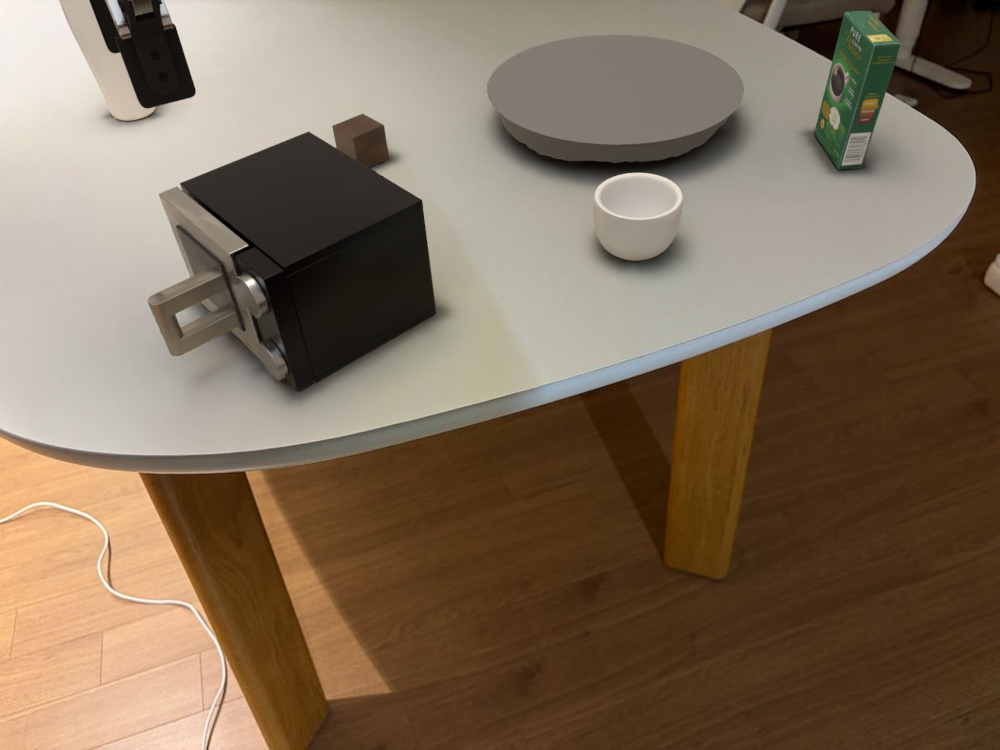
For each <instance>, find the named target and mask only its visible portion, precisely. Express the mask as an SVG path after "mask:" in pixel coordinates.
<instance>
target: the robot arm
mask: <svg viewBox="0 0 1000 750" xmlns="http://www.w3.org/2000/svg"><path fill="white" fill-rule="evenodd" d="M89 1H90V4H91V7H92V9H93V12H94V14H95V17H96V20H97V22H98V25H99V28H100V30H101V33H102V35H103V38H104V41H105V43H106V46H107V48H108V50H109V51H110V52H112V53H121V56H122V59H123V61H124V64H125V67H126V70H127V72H128V75H129V78H130V80H131V83H132V86H133V88H134V91H135V94H136V97H137V99H138V101H139V103H140V105H141V106H142V107H143V108H152V107H156V108H157V107H160V106H164V105H168V104H172V103H175V102H180V101H183V100H186V99H191V98H193V97H194V96H195V95H196V92H197V90H196V87H195V83H194V80H193V76H192V74H191V70H190V67H189V64H188V61H187V58H186V54H185V52H184V48H183V45H182V42H181V39H180V36H179V32H178V30H177V29H178V28H177V26H176V25H175V23H174V22H173V21H172V20H173V19H171V15H170V12H169V10H168V8H167V5H166V3H165V0H89Z"/></svg>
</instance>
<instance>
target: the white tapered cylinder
mask: <svg viewBox="0 0 1000 750" xmlns="http://www.w3.org/2000/svg"><path fill="white" fill-rule="evenodd" d="M58 1H59V5H60V7H61V10H62V13H63V15H64V17H65V20H66V22H67V25H68V26H69V29H70V31H71V33H72V35H73V37H74V39H75V41H76V44H77V45H78V47H79V49H80V52H81V54H82V56H83V57H84V59H85V61H86V64H87V66H88V67H89V69H90V71H91V73H92V75H93V77H94V79H95V82H96V83H97V85H98V88H99V90H100V92H101V94H102V96H103V98H104V101H105V103H106V105H107V107H108V111H109V112H110V114H111V116H112V117H113V118H115V119H116V120H119V121H125V122H126V121H127V122H128V121H130V122H131V121H137V120H140V119H144V118H146V117H148V116H150V115H151V114H153V113H154V112H155V110H156V108H157V106H156V107H152V108H143V107H142V106H141V105H140V103H139V101H138V99H137V97H136V94H135V91H134V88H133V86H132V83H131V80H130V78H129V75H128V72H127V70H126V67H125V64H124V61H123V59H122V56H121V53H112V52H110V51H109V50H108V48H107V46H106V43H105V41H104V38H103V35H102V33H101V30H100V28H99V25H98V22H97V20H96V17H95V14H94V12H93V9H92V7H91V4H90V1H89V0H58Z"/></svg>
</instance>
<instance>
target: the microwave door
mask: <svg viewBox="0 0 1000 750" xmlns="http://www.w3.org/2000/svg"><path fill="white" fill-rule="evenodd" d="M158 196H159V199H160V202H161V205H162V207H163V210H164V213H165V215H166V217H167V221H168V223H169V225H170V228H171V230H172V233H173V235H174V239H175V242H176V244H177V246H178V249H179V251H180V255H181V257H182V260H183V262H184V265H185V268H186V270H187V272H188V275H189V277H187V278H185V280H182V281H180V282H177V283H175V284H173V285H170V286H169V287H166V288H164V289H162V290H161V291H160V290H159V291H158V292H156V293H154V294H152V295H150V296H149V297H148V298H147V304H148V306H149V309H150V311H151V313H152V316H153V318H154V320H155V323H156V325H157V327H158V329H159V331H160V333H161V336H162V338H163V341H164V342H165V345H166V347H167V350H168V352H169V353H170V356H172V357H181V356H184V355H185V354H188V353H189V352H192V351H193V350H195V349H197V348H199V347H200V346H203V345H205V344H206V343H209V342H211V341H212V340H215V339H216V338H219V337H220V336H222V335H224V334H226V333H228V332H231V333H232V334H233V335H234V336H235V337H236V338H237V339H238V340H239V341H241V343H242V344H244V346H245V347H246V348H248V349H249V350H250V351H251V352H252V353H253V354H254V355H255V356H256V357H257V358H258V359H259V360H260V361H261V362H262V360H261V358H260V356H259V353H258V350H257V345H258V343H260V342H262V341H263V338H262V335H261V332H260V329H259V326H258V323H257V319H256V317H255V316H254V315H252V314H251V312H250V311H249V310H248V309H247V307H246V306H245V304H244V303H243V301H242V299H241V297H240V295H239V293H238V291H237V288H236V284H235V278H236V277H238V276H240V275H242V274H241V271H240V267H239V264H238V261H237V258H236V255H238V254H241V253H243V252H245V251H247V250H249V249H250V247H249V245H248V244H247V243H246V242H245V241H243V240H242V239H241V238H240V237H238V236H237V235H236V234H235V233H234V232H232V231H231V230H230V229H229V228H227V227H226V226H225V225H224V224H223V223H221V222H220V221H219V220H218V219H216V218H215V217H214V216H213V215H211V214H210V213H209V212H208V211H207V210H205V209H204V208H203V207H202V206H200V205H199V204H198V203H197V202H196V201H194V200H193V199H192V198H191V197H189V196H188V195H187V194H186V193H184V192H183V191H182V188H181V187H180V188H179V186H175V187H172V188H170V189H167V190H163V191H162V192H159V193H158ZM199 303H201V304H202V305H203V306H204V307H205V308H206V309H207V310H208V311H209V312H208V313H207V314H204V315H202V316H200V317H199V318H196V319H194V320H192V321H191V322H189V323H186V324H184V325H182V326H181V325H180V323H179V321H178V319H177V316H176V315H177V314H179V313H180V312H181V313H182V312H183V311H185V310H187V309H188V308H191V307H194V306H195V305H197V304H199Z"/></svg>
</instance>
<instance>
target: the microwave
mask: <svg viewBox="0 0 1000 750" xmlns="http://www.w3.org/2000/svg"><path fill="white" fill-rule="evenodd" d="M179 185H180V189H181V190H182V191H183V192H184V193H186V194H187V195H188V196H189V197H191V198H192V199H193V200H194V201H196V202H197V203H198V204H199V205H200V206H202V207H203V208H204V209H205V210H207V211H208V212H209V213H210V214H211V215H213V216H214V217H215V218H216V219H218V220H219V221H220V222H221V223H223V224H224V225H225V226H226V227H227V228H229V229H230V230H231V231H232V232H234V233H235V234H236V235H237V236H238V237H240V238H241V239H242V240H243V241H245V242H246V243H247V244H248V245H249V247H250V249H249V250H247V251H245V252H243V253H241V254H238V255H236V258H237V261H238V264H239V267H240V271H241V274H242V275H240V276H238V277H236V278H235V284H236V288H237V291H238V293H239V295H240V297H241V299H242V301H243V303H244V304H245V306H246V307H247V309H248V310H249V311H250V312H251V314H252V315H254V316H255V317H256V319H257V323H258V326H259V329H260V332H261V335H262V338H263V341H262V342H260V343H258V345H257V350H258V353H259V356H260V358H261V360H262V361H261V360H260V361H261V362H262V364H263V366H264V367H265V369H266V370H267V372H268V373H269V374H270V375H271V376H272V377H273V378H274V379H275V380H277V381H282V380H283V379H285V380H286V381H287V382H288V383H289V385H291V386H292V387H293V388H294V389H295V390H296V391H300V390H302V389H304V388H306V387H307V386H309V385H311V384H313V383H318V382H320V381H321V380H323V379H325V378H327V377H328V376H330V375H332V374H333V373H335V372H337V371H338V370H341V369H342V368H344V367H345V366H346V367H347V366H348V365H349V364H351V363H352V362H355V361H356V360H358V359H360V358H361V357H363V356H365V355H367V354H369V353H370V352H372V351H374V350H376V349H377V348H379V347H381V346H383V345H384V344H386V343H388V342H389V341H391V340H393V339H395V338H396V337H398V336H400V335H402V334H404V333H405V332H407V331H409V330H410V329H412V328H413V327H416V326H417V325H419V324H420V323H423V322H424V321H425V320H427V319H429V318H431V317H433V316H434V315H436V314H437V309H436V308H437V307H436V301H435V299H436V298H435V293H434V291H435V290H434V285H433V276H432V268H431V260H430V253H429V245H428V243H429V242H428V236H427V228H426V220H425V212H424V202H423V199H421V198H420V197H418V196H416V195H415V194H413V193H411V192H410V191H408V190H407V189H404V188H403V187H402V186H400V185H398V184H396V183H395V182H393V181H391V180H390V179H388V178H386V177H385V176H383V175H382V174H380V173H378V172H377V171H375V170H374V169H372V168H371V167H370V168H368V167H367V166H365V165H363V164H362V163H360V162H358V161H357V160H355V159H353V158H352V157H350V156H348V155H347V154H345V153H343V152H342V151H340V150H338V149H337V148H336V146H333V145H332V144H330V143H328V142H327V141H325V140H324V139H322V138H320V137H319V136H317V135H315V134H313V133H312V132H311V131H306V132H304V133H301V134H298V135H296V136H293V137H291V138H289V139H286V140H285V141H284V140H283V141H281V142H279V143H276V144H274V145H272V146H268V147H267V148H264V149H261V150H258V151H256V152H253V153H251V154H249V155H246V156H244V157H241V158H239V159H237V160H233V161H231V162H229V163H227V164H224V165H222V166H219V167H217V168H214V169H212V170H209V171H207V172H205V173H202V174H200V175H197V176H194V177H191V178H190V179H186V180H184V181H182V182H179Z"/></svg>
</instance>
